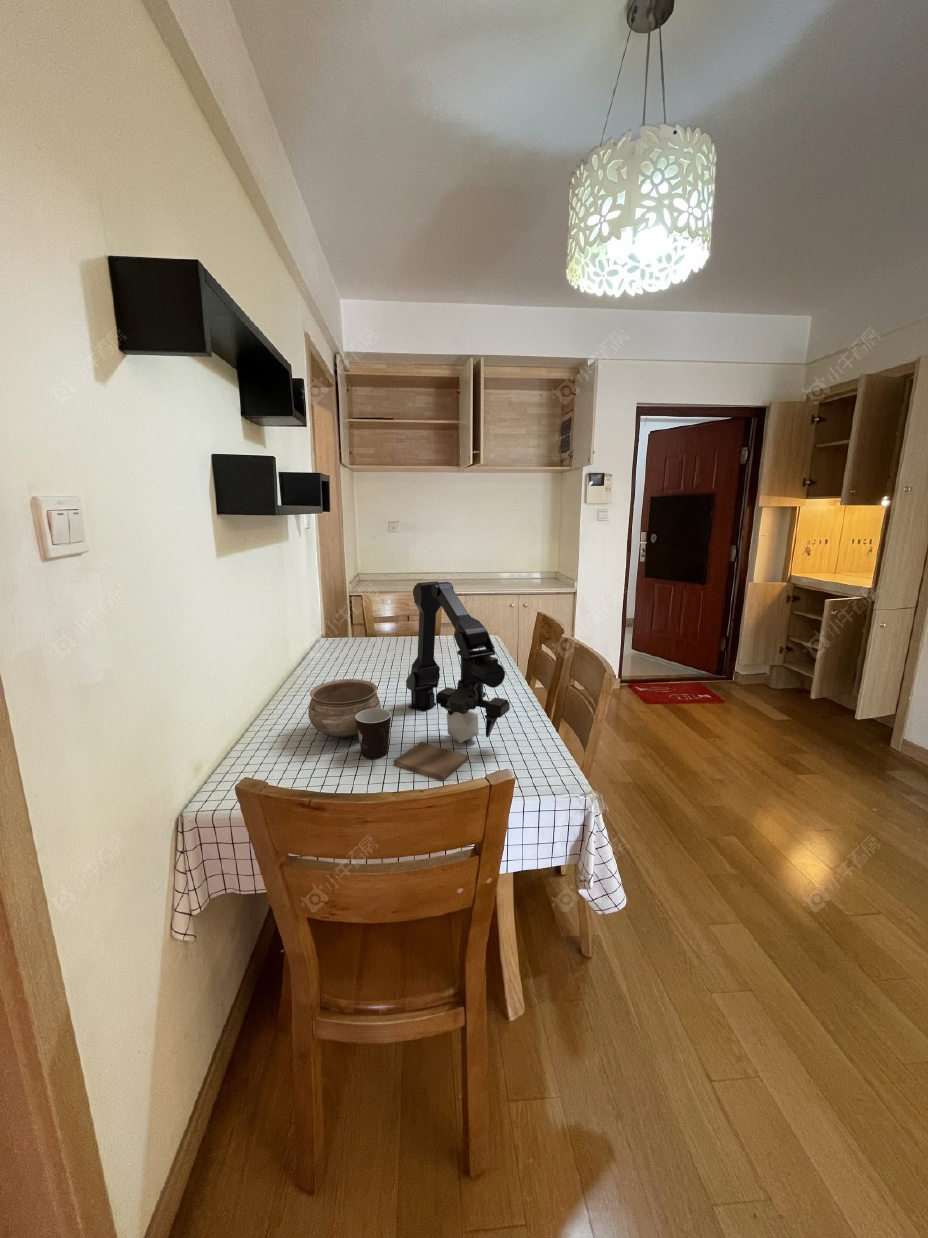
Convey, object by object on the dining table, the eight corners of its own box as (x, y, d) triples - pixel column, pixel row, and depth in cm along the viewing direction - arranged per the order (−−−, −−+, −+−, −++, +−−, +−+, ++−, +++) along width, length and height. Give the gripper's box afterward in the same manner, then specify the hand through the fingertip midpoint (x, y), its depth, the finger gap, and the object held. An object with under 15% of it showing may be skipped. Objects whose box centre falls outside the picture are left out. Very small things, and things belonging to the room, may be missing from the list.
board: (394, 765, 115) (394, 760, 114) (421, 746, 124) (420, 741, 124) (443, 781, 108) (443, 776, 107) (468, 760, 117) (468, 755, 117)
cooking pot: (332, 712, 145) (329, 673, 142) (393, 716, 142) (391, 676, 139) (291, 752, 121) (287, 706, 118) (363, 757, 118) (361, 711, 115)
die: (489, 735, 128) (482, 707, 123) (463, 755, 124) (455, 727, 118) (469, 720, 134) (461, 693, 129) (444, 739, 130) (435, 712, 125)
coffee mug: (359, 745, 124) (357, 709, 122) (393, 744, 125) (392, 707, 123) (353, 768, 113) (351, 729, 111) (390, 767, 114) (389, 727, 111)
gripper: (423, 678, 119) (424, 736, 122) (490, 692, 110) (489, 755, 113) (447, 666, 128) (447, 720, 132) (511, 678, 119) (509, 736, 123)
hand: (471, 732), depth 124 cm, fingers open, 9 cm apart
